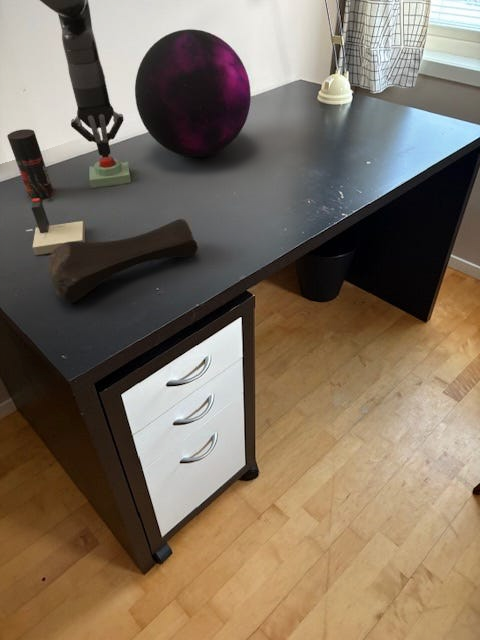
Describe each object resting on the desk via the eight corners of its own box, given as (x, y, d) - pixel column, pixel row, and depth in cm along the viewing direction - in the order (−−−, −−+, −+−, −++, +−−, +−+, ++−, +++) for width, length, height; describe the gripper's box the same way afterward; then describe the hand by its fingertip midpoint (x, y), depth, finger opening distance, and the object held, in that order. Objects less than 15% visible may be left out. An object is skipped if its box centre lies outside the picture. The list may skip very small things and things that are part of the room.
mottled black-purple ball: (270, 160, 129) (271, 33, 109) (165, 185, 120) (145, 52, 100) (225, 125, 149) (219, 13, 129) (133, 145, 140) (110, 27, 120)
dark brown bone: (59, 314, 87) (194, 276, 100) (59, 286, 78) (207, 248, 91) (40, 265, 90) (173, 234, 103) (37, 233, 81) (184, 203, 94)
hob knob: (48, 232, 101) (38, 205, 97) (40, 233, 101) (30, 206, 97) (49, 223, 104) (40, 197, 100) (41, 224, 103) (32, 198, 99)
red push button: (100, 169, 120) (99, 162, 119) (100, 163, 123) (99, 157, 121) (115, 167, 120) (113, 160, 119) (114, 161, 123) (113, 155, 122)
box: (91, 188, 120) (87, 173, 118) (91, 174, 126) (87, 160, 123) (131, 182, 122) (128, 167, 119) (129, 169, 128) (126, 155, 125)
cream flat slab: (26, 256, 98) (22, 248, 97) (30, 230, 106) (27, 221, 104) (84, 247, 100) (82, 239, 98) (85, 222, 108) (82, 213, 106)
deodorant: (54, 197, 117) (35, 136, 107) (29, 202, 116) (7, 140, 106) (52, 187, 122) (33, 127, 111) (28, 191, 120) (6, 132, 110)
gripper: (57, 90, 105) (78, 165, 116) (118, 83, 106) (133, 158, 118) (59, 80, 110) (79, 153, 122) (117, 74, 112) (131, 147, 124)
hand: (105, 156), depth 120 cm, fingers closed
